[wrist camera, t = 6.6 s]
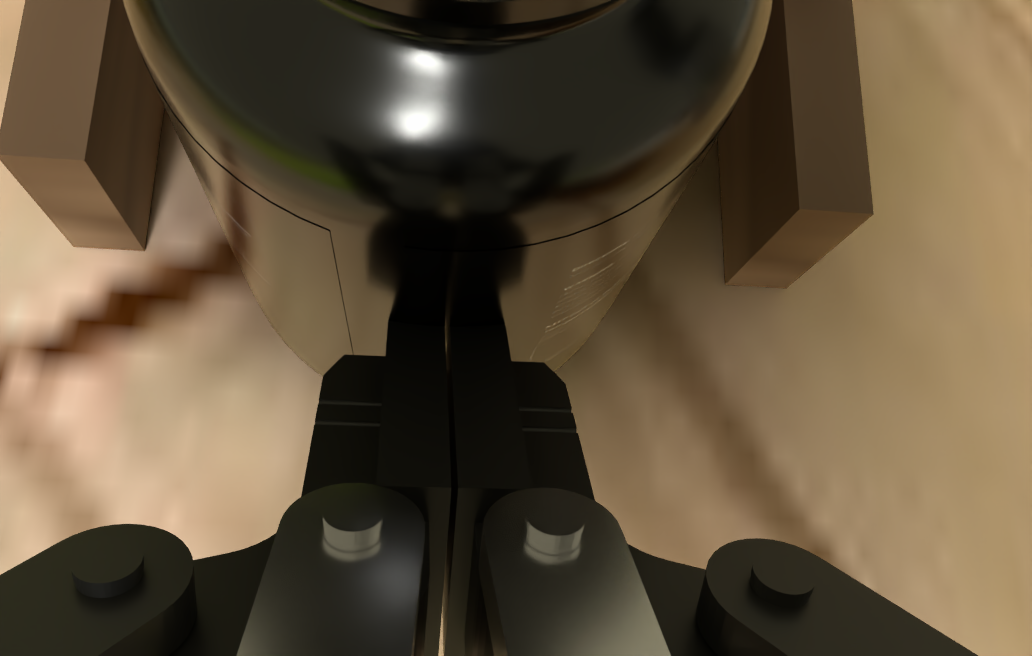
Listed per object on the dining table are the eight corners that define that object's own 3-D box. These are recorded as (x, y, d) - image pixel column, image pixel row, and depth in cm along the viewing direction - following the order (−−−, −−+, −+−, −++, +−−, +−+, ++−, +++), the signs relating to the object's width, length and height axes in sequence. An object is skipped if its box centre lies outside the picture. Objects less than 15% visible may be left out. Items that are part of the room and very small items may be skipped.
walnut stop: (767, 25, 20) (884, -160, 15) (785, 288, 18) (924, 171, 14) (119, -34, 19) (25, -258, 14) (73, 246, 17) (-51, 99, 12)
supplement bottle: (550, 44, 19) (778, -792, 8) (663, 362, 18) (1163, -115, 6) (202, 115, 18) (-130, -774, 7) (290, 467, 16) (48, 103, 5)
